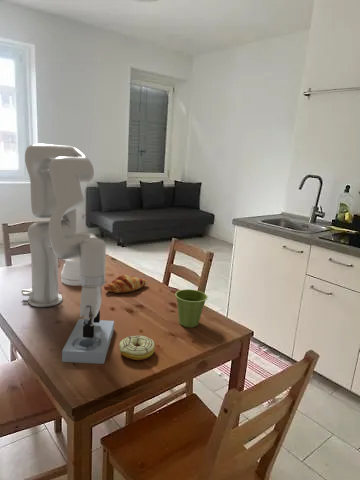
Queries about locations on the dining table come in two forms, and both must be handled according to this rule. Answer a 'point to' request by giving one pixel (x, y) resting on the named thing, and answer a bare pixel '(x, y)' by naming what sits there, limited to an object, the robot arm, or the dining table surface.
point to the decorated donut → (137, 347)
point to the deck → (88, 343)
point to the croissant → (125, 284)
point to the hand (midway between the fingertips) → (91, 329)
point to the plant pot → (190, 306)
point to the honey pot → (71, 272)
